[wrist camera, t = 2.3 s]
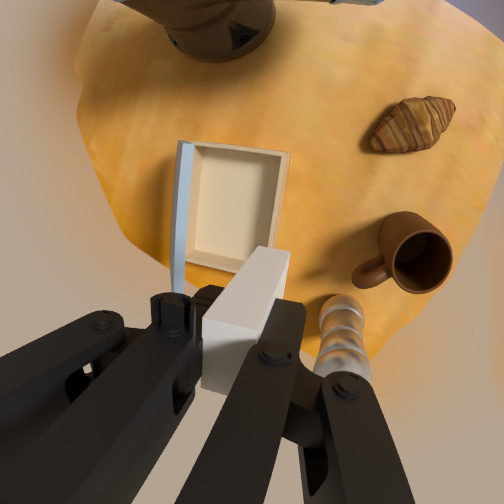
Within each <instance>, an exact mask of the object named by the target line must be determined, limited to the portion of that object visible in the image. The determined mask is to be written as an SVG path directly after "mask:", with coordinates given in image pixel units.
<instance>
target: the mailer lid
mask: <svg viewBox="0 0 504 504" xmlns="http://www.w3.org/2000/svg"><path fill="white" fill-rule="evenodd" d="M194 146H195V144H193V143H190V142H188V141H182V140H178V146H177V155H176V166H175V177H174V190H173V204H172V221H171V242H170V272H171V286H172V292H175V293H182V294H184V274H185V254H186V237H187V222H188V208H189V196H190V185H191V174H192V164H193V155H194Z"/></svg>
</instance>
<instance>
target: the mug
mask: <svg viewBox="0 0 504 504" xmlns="http://www.w3.org/2000/svg"><path fill="white" fill-rule="evenodd" d="M378 244H379V249H380V252H381V253H380V254H379V255H377V256H376V257H374V258H372V259H370V260H368V261H366V262H364V263H362V264H361V265H359V266H358V267H357V268H356V269H355V271H354V272H353V274H352V278H351V279H352V283H353V284H354V286H356V287H357V288H359V289H368V288H372V287H375V286H377V285H379V284H381V283H382V282H384V281H386V280H387V279H389V278H391V277H392V278H393V279H394V280H395V282H396V283H397V285H398V286H399V287H400V288H402V289H403V290H405V291H407V292H409V293H413V294H424V293H428V292H431V291H433V290H434V289H436V288H438V287H439V286H440V285H441V284H442V283H443V282H444V281H445V279H446V278H447V276H448V274H449V272H450V270H451V266H452V260H453V255H452V249H451V246H450V244H449V242H448V240H447V239H446V237H445V236H444V235H443V234H442V233H441V232H440V231H439V230H438V229H437V228H436V227H435V226H433V225H432V224H431V223H429V222H428V221H427V220H425V219H424V218H423V217H421V216H420V215H418V214H416V213H413V212H408V211H404V212H398V213H395V214H393V215H392V216H390V217H389V218H388V219H387V220H386V221H385V222H384V224H383V225H382V227H381V229H380V232H379V237H378Z"/></svg>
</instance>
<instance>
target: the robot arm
mask: <svg viewBox="0 0 504 504" xmlns="http://www.w3.org/2000/svg"><path fill="white" fill-rule="evenodd" d="M113 1H115V2H120V3H122V4H124V5H126V6H128V7H130V8H132V9H134V10H136V11H138V12H140V13H141V14H143V15H145V16H147V17H149V18H151V19H153V20H154V21H156V22H158V23H160V24H161V25H163V26H164V28H165V30H166V32H167V33H168V36H169V38H170V40H171V42H172V43H173V44H174V46H175V47H176V48H177V49H178V50H180V51H181V52H182V53H184V54H186V55H188V56H189V57H191V58H193V59H196V60H198V61H202V62H210V63H218V62H225V61H230V60H233V59H236V58H239V57H241V56H243V55H245V54H247V53H249V52H250V51H252V50H253V49H255V48H256V47H257V46H258V45H260V44H261V43H262V42H263V41H264V39H265V38H266V37H267V36H268V34H269V33H270V31H271V29H272V27H273V24H274V21H275V15H276V10H275V4H274V1H273V0H113ZM298 1H317V2H329V3H330V4H334V5H336V4H339V3H347V4H357V5H367V6H371V5H377V4H379V3H381V2H383V1H384V0H298ZM290 253H291V252H290V251H284V250H279V249H274V248H269V247H263V246H258V247H257V248H256V249H255V251H254V252H253V253H252V254H251V256H250V257H249V258H248V260H247V261H246V262H245V263H244V265H243V266H242V267H241V268H240V270H239V271H238V272H237V274H236V275H235V276H234V277H233V279H232V280H231V281H230V283H229V284H228V285H227V286H226V288H223V287H219V286H215V285H208V286H206V287H203V288H201V289H199V290H198V291H197V293H196V294H195V295H194V297H192V298H191V297H190V296H187V295H185V294H182V293H175V292H167V293H161V294H157V295H155V296H153V297H151V298H150V302H151V318H152V323H151V324H150V325H149V326H148V327H147V328H146V329H138V328H129V327H124V321H123V317H122V316H120V314H118V313H116V312H113V311H107V310H102V311H95V312H92V313H90V314H87V315H85V316H83V317H81V318H79V319H77V320H75V321H73V322H71V323H69V324H67V325H65V326H63V327H61V328H59V329H57V330H55V331H52V332H50V333H48V334H46V335H44V336H42V337H41V338H38V339H36V340H34V341H32V342H30V343H28V344H26V345H24V346H22V347H20V348H18V349H16V350H14V351H12V352H10V353H8V354H6V355H4V356H2V357H0V504H131V503H132V501H133V500H134V498H135V497H136V495H137V493H138V492H139V490H140V488H141V487H142V485H143V484H144V482H145V480H146V479H147V477H148V475H149V474H150V472H151V470H152V469H153V467H154V465H155V464H156V462H157V460H158V459H159V457H160V455H161V454H162V452H163V450H164V449H165V447H166V446H167V444H168V442H169V440H170V439H171V437H172V435H173V434H174V432H175V430H176V429H177V427H178V425H179V424H180V422H181V420H182V418H183V417H184V415H185V413H186V412H187V410H188V408H189V406H190V405H191V403H192V401H193V400H194V397H195V385H196V384H197V382H198V380H199V379H200V377H201V388H203V389H207V390H210V391H213V392H217V393H221V394H224V395H227V398H226V401H225V403H224V405H223V407H222V409H221V411H220V413H219V416H218V417H217V420H216V422H215V424H214V426H213V428H212V430H211V432H210V434H209V436H208V438H207V440H206V442H205V444H204V446H203V448H202V450H201V452H200V454H199V456H198V458H197V460H196V462H195V464H194V466H193V468H192V470H191V472H190V474H189V476H188V478H187V480H186V482H185V484H184V486H183V488H182V490H181V492H180V494H179V496H178V497H177V499H176V501H175V503H174V504H263V502H264V499H265V496H266V492H267V489H268V485H269V482H270V479H271V475H272V471H273V468H274V464H275V460H276V457H277V453H278V449H279V445H280V441H281V437H284V438H285V439H287V440H289V441H292V442H294V443H296V444H298V453H299V462H300V471H301V480H302V489H303V499H304V504H415V501H414V498H413V495H412V492H411V489H410V486H409V483H408V480H407V477H406V474H405V472H404V469H403V466H402V463H401V460H400V458H399V455H398V452H397V450H396V447H395V444H394V441H393V439H392V436H391V434H390V431H389V428H388V426H387V423H386V420H385V418H384V415H383V413H382V410H381V408H380V405H379V403H378V400H377V398H376V395H375V393H374V391H373V388H372V387H371V385H370V383H369V382H368V381H367V380H366V379H365V378H363V377H362V376H361V375H358V374H356V373H353V372H348V371H336V372H332V373H330V374H328V375H326V377H325V378H324V377H322V376H319V375H317V374H315V373H313V372H311V371H310V370H308V369H307V368H306V367H305V366H304V365H303V364H302V362H301V360H300V358H299V351H300V346H301V341H302V336H303V330H304V325H305V319H306V313H307V311H306V309H305V307H304V305H303V304H302V303H298V302H293V301H288V300H283V294H284V288H285V282H286V276H287V271H288V265H289V259H290ZM88 363H90V365H91V368H92V372H90V373H87V374H86V373H84V370H83V367H84V366H85V365H87V364H88Z"/></svg>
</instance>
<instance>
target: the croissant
mask: <svg viewBox="0 0 504 504" xmlns="http://www.w3.org/2000/svg"><path fill="white" fill-rule="evenodd" d="M455 110H456V107H455V104H454V103H453V102H452V100H449V99H445V98H440V97H431V96H427V97H425V98H423V99H422V98H416V97H415V98H408V99H403V100H402V101H401V102H400V103H399V104H398V105H397V106H395V107H394V108H393V110H392V112H391V113H390V115H389V116H387V117H385V118H383V119H382V121H381V122H380V124H379V125H378V126H377V128H376V129H375V131H374V133H373V134H372V136H371V138H370V140H369V142H370V146H371V147H372V148H373V149H374V150H375V151H383V152H398V153H403V152H406V151H408V150H412V151H421V150H426V149H430V148H431V147H432V146H433V145H434V144H435V143H436V142H437V141H438V140H439V138H440V135H441V133H442V132H444V131H446V129H447V127H448V125H449V123H450V121H451V119H452V116H453V114H454V112H455Z"/></svg>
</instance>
